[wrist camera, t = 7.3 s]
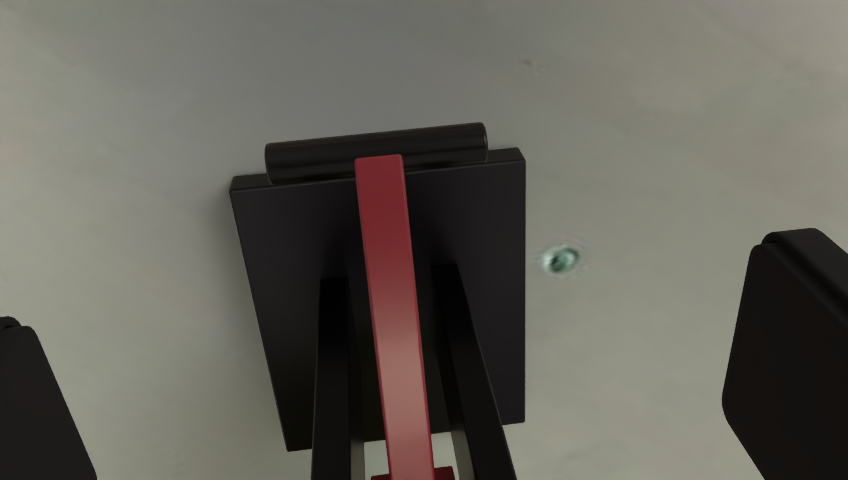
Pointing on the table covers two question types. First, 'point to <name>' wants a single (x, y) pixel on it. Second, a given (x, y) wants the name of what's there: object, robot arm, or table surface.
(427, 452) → the switch lever
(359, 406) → the switch bracket
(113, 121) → the table surface
